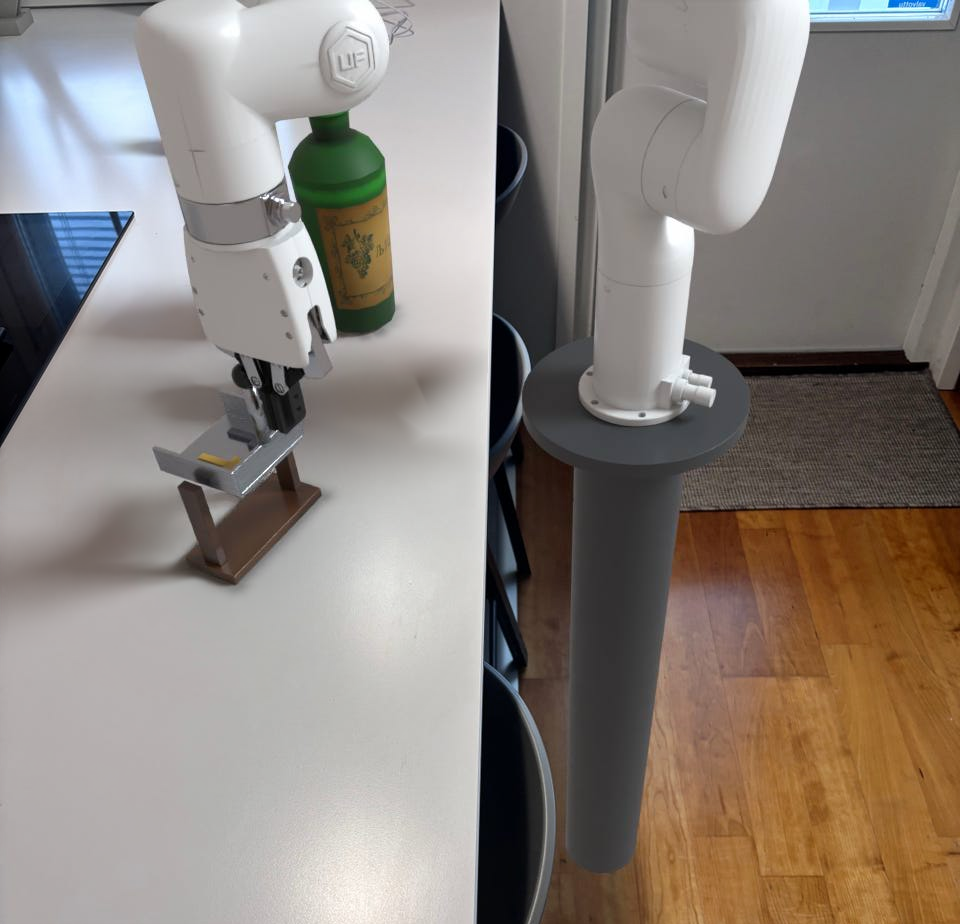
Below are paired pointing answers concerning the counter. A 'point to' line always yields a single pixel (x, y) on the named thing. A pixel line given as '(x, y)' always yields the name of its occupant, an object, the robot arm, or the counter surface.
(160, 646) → the counter surface
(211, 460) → the brass key
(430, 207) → the counter surface
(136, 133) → the counter surface
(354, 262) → the bottle
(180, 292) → the counter surface
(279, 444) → the grey metal box
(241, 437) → the nickel key
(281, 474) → the stand
